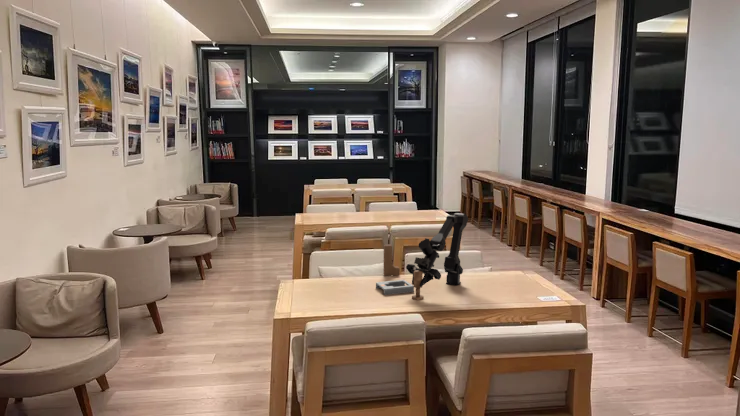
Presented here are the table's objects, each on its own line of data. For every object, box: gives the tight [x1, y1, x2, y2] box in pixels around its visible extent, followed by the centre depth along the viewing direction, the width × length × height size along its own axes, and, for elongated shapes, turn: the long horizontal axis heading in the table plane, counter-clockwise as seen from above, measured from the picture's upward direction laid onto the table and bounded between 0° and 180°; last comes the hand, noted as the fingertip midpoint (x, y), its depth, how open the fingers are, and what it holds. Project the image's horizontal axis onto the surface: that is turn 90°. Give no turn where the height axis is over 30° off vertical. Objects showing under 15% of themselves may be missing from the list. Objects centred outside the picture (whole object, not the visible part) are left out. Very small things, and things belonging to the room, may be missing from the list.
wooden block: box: [383, 243, 401, 277], centre depth 316 cm, size 9×4×18 cm, turn 95°
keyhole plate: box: [375, 279, 415, 296], centre depth 288 cm, size 16×13×3 cm
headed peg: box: [411, 270, 425, 301], centre depth 273 cm, size 6×6×14 cm
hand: (416, 285), depth 272 cm, fingers closed on headed peg, 4 cm apart
